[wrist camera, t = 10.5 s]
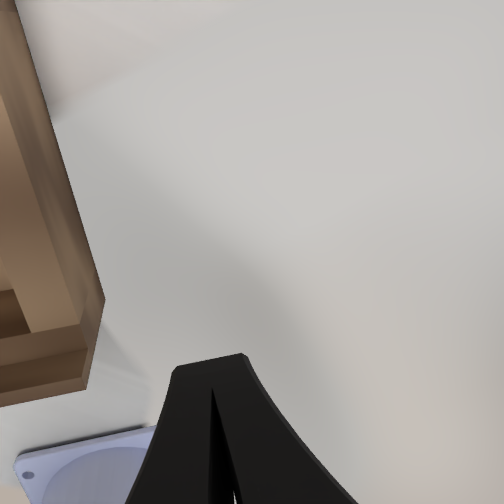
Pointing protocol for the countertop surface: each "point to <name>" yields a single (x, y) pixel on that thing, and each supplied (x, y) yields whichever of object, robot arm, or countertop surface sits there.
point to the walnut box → (39, 242)
